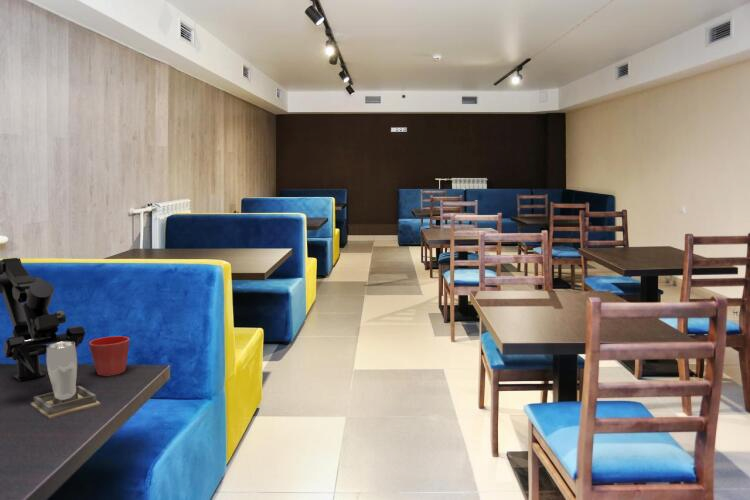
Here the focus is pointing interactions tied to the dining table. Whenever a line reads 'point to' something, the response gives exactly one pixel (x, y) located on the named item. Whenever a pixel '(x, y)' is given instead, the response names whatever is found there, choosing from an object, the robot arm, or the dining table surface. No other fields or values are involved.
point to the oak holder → (65, 403)
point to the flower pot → (110, 354)
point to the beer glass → (62, 370)
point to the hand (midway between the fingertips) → (54, 368)
